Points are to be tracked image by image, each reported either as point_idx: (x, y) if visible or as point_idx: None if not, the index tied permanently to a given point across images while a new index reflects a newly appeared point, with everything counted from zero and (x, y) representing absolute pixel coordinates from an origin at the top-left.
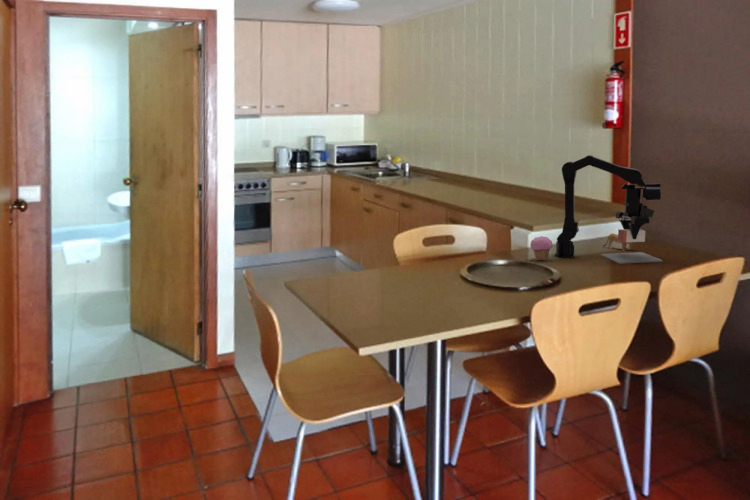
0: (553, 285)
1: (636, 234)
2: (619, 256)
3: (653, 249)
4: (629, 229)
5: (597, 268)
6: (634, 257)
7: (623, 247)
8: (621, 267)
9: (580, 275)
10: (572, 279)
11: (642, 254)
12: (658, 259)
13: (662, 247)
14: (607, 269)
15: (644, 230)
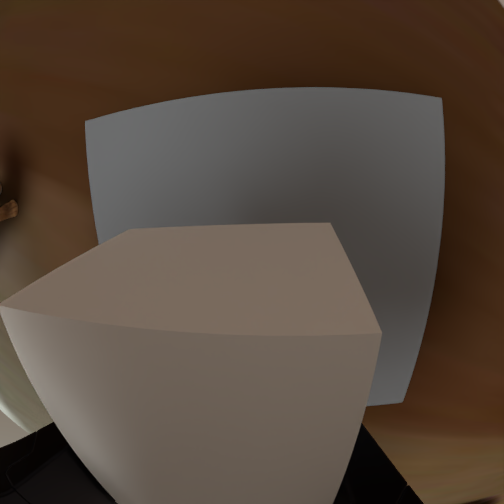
0: (487, 501)
1: (372, 456)
2: None
3: (18, 40)
4: (121, 490)
5: (428, 463)
6: None
7: (2, 215)
8: (467, 399)
9: (466, 485)
10: (480, 490)
11: (166, 145)
12: (409, 111)
13: (5, 5)
14: (460, 442)
15: (320, 346)
